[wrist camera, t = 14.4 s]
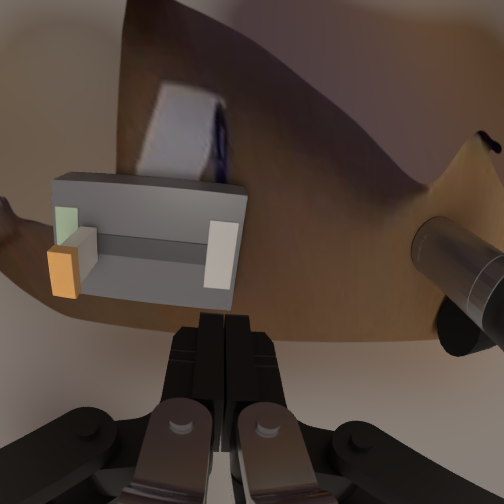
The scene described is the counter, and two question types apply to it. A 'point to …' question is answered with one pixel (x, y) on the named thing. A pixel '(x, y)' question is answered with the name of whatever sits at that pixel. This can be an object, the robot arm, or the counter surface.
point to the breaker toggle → (72, 262)
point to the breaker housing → (155, 236)
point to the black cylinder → (460, 332)
